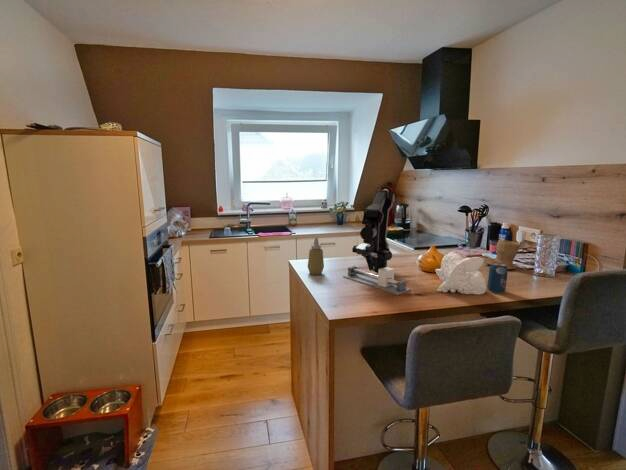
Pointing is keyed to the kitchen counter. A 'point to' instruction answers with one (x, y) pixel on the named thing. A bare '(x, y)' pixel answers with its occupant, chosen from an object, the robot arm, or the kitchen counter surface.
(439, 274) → the white sculpture
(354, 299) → the kitchen counter surface
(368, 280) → the base board
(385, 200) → the robot arm
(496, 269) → the soda can
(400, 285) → the rail
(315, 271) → the squeeze bottle
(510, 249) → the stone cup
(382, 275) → the collar
